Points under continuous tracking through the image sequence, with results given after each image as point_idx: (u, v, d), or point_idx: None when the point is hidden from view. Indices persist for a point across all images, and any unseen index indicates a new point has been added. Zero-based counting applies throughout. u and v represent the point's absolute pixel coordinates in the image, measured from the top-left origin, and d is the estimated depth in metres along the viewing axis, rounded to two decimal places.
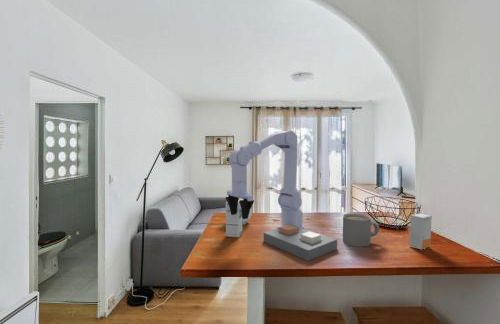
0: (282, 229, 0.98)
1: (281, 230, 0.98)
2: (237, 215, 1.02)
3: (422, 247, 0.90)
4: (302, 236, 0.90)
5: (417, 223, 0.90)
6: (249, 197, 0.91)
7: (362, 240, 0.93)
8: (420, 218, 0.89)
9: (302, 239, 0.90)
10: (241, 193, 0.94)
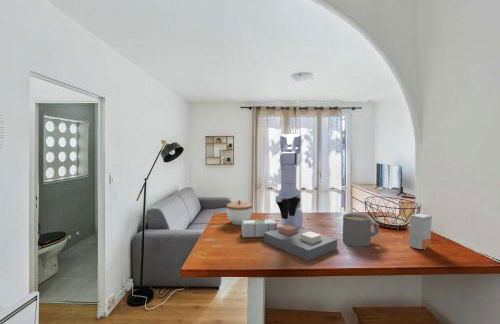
0: (282, 229, 0.98)
1: (281, 230, 0.98)
2: None
3: (422, 247, 0.90)
4: (302, 236, 0.90)
5: (417, 223, 0.90)
6: (276, 198, 0.93)
7: (362, 240, 0.93)
8: (420, 218, 0.89)
9: (302, 239, 0.90)
10: (282, 194, 0.97)
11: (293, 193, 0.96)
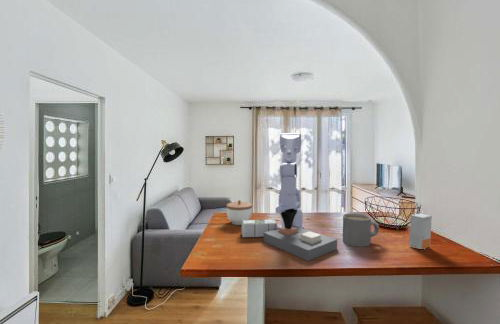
0: (282, 230, 0.98)
1: (281, 231, 0.98)
2: None
3: (422, 247, 0.90)
4: (302, 236, 0.90)
5: (417, 223, 0.90)
6: (276, 209, 0.94)
7: (362, 240, 0.93)
8: (420, 218, 0.89)
9: (302, 239, 0.90)
10: (282, 205, 0.97)
11: (293, 204, 0.96)
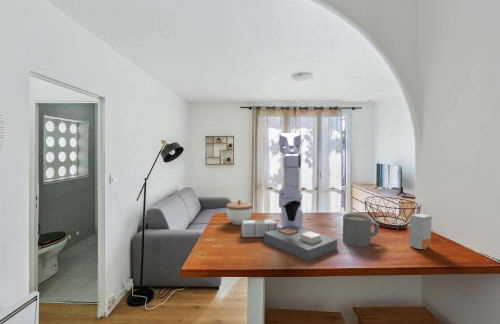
0: (282, 233, 0.98)
1: None
2: None
3: (422, 247, 0.90)
4: (302, 236, 0.90)
5: (417, 223, 0.90)
6: (280, 201, 0.92)
7: (362, 240, 0.93)
8: (420, 218, 0.89)
9: (302, 239, 0.90)
10: (285, 197, 0.95)
11: (297, 196, 0.95)
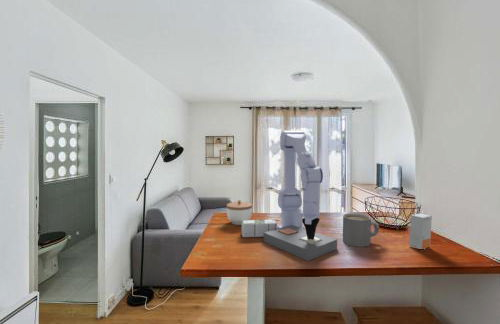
0: (282, 233, 0.98)
1: None
2: None
3: (422, 247, 0.90)
4: (302, 240, 0.90)
5: (417, 223, 0.90)
6: (306, 220, 0.83)
7: (362, 240, 0.93)
8: (420, 218, 0.89)
9: None
10: (307, 214, 0.88)
11: (318, 212, 0.88)
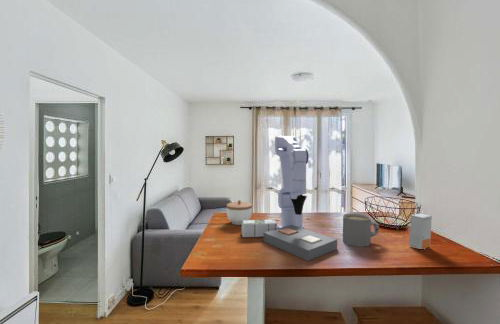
0: (282, 233, 0.98)
1: None
2: None
3: (422, 247, 0.90)
4: (302, 240, 0.90)
5: (417, 223, 0.90)
6: (291, 195, 0.93)
7: (362, 240, 0.93)
8: (420, 218, 0.89)
9: None
10: (294, 191, 0.97)
11: (305, 190, 0.97)
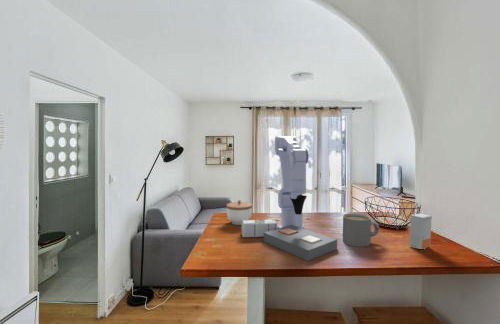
0: (282, 233, 0.98)
1: None
2: None
3: (422, 247, 0.90)
4: (302, 240, 0.90)
5: (417, 223, 0.90)
6: (291, 195, 0.93)
7: (362, 240, 0.93)
8: (420, 218, 0.89)
9: None
10: (294, 191, 0.97)
11: (304, 190, 0.97)
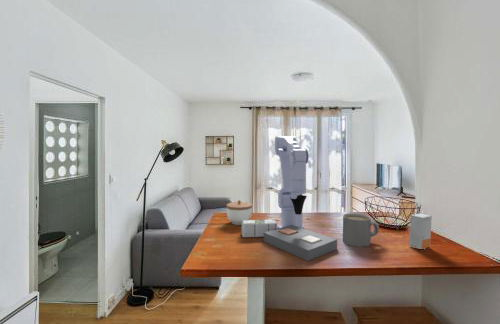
0: (282, 233, 0.98)
1: None
2: None
3: (422, 247, 0.90)
4: (302, 240, 0.90)
5: (417, 223, 0.90)
6: (291, 195, 0.93)
7: (362, 240, 0.93)
8: (420, 218, 0.89)
9: None
10: (294, 191, 0.97)
11: (304, 190, 0.97)
